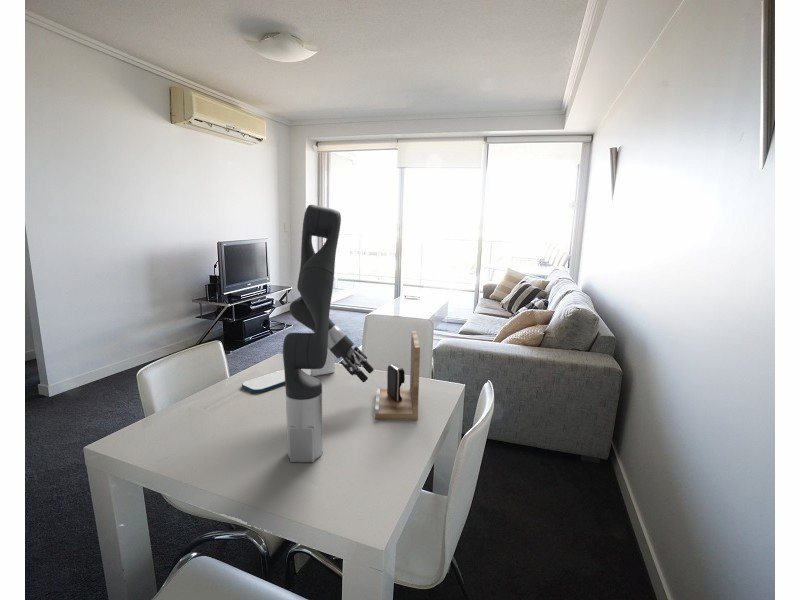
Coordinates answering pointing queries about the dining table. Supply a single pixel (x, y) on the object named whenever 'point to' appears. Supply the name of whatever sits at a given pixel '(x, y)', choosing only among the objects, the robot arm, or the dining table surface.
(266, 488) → the dining table surface
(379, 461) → the dining table surface
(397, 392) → the battery charger
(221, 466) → the dining table surface
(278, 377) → the external hard drive
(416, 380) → the shelf
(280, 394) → the dining table surface
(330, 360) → the photo printer
